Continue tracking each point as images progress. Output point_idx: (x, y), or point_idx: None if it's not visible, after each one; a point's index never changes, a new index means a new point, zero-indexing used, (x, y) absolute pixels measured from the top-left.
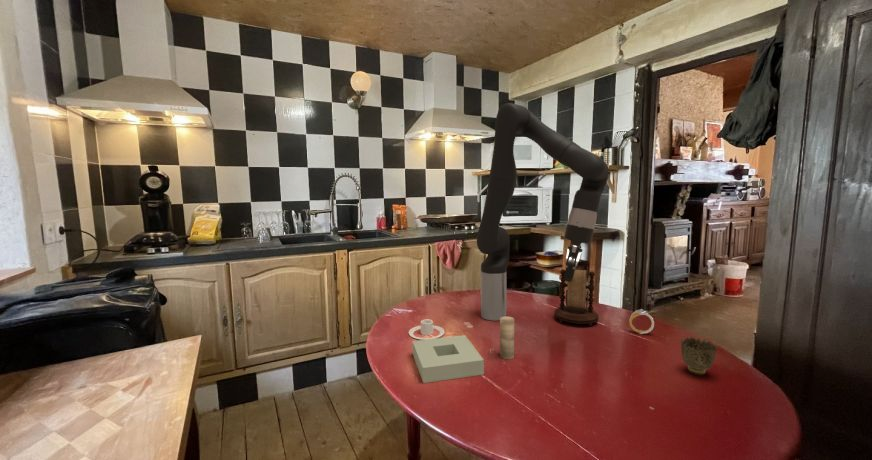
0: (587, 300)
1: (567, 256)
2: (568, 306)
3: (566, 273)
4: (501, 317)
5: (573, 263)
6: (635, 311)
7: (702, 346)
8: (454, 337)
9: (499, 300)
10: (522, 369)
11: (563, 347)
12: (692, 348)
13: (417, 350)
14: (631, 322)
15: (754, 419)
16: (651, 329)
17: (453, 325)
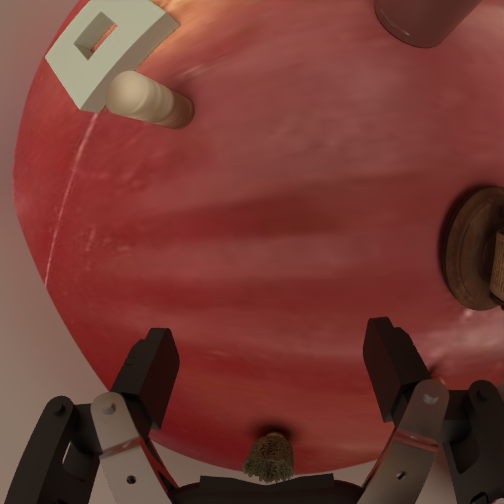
0: (500, 303)
1: (108, 476)
2: (496, 235)
3: (122, 368)
4: (129, 71)
5: (74, 445)
6: None
7: (289, 469)
8: (147, 6)
9: (407, 2)
10: (138, 166)
11: (288, 230)
12: (245, 462)
13: (84, 8)
14: None
15: (183, 441)
16: None
17: None
